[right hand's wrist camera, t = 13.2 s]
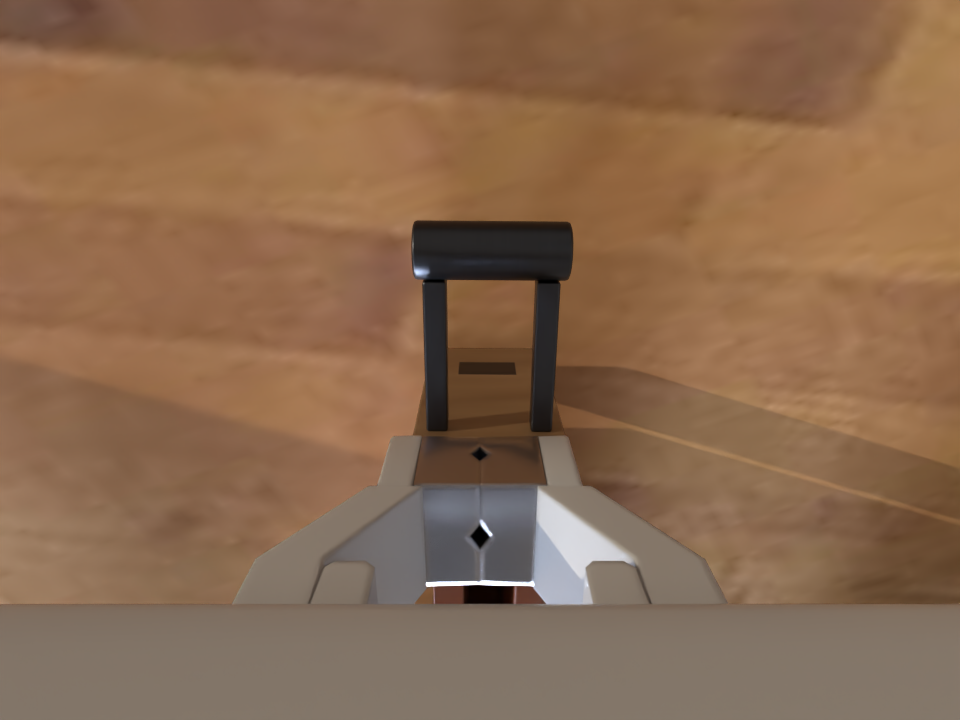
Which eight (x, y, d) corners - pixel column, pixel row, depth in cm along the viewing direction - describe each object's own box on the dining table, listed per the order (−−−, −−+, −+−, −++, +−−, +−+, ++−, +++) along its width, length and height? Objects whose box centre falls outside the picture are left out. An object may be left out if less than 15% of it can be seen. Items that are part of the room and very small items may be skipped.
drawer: (428, 193, 21) (390, 241, 12) (548, 194, 21) (600, 243, 12) (439, 688, 29) (422, 928, 21) (524, 688, 29) (544, 928, 21)
